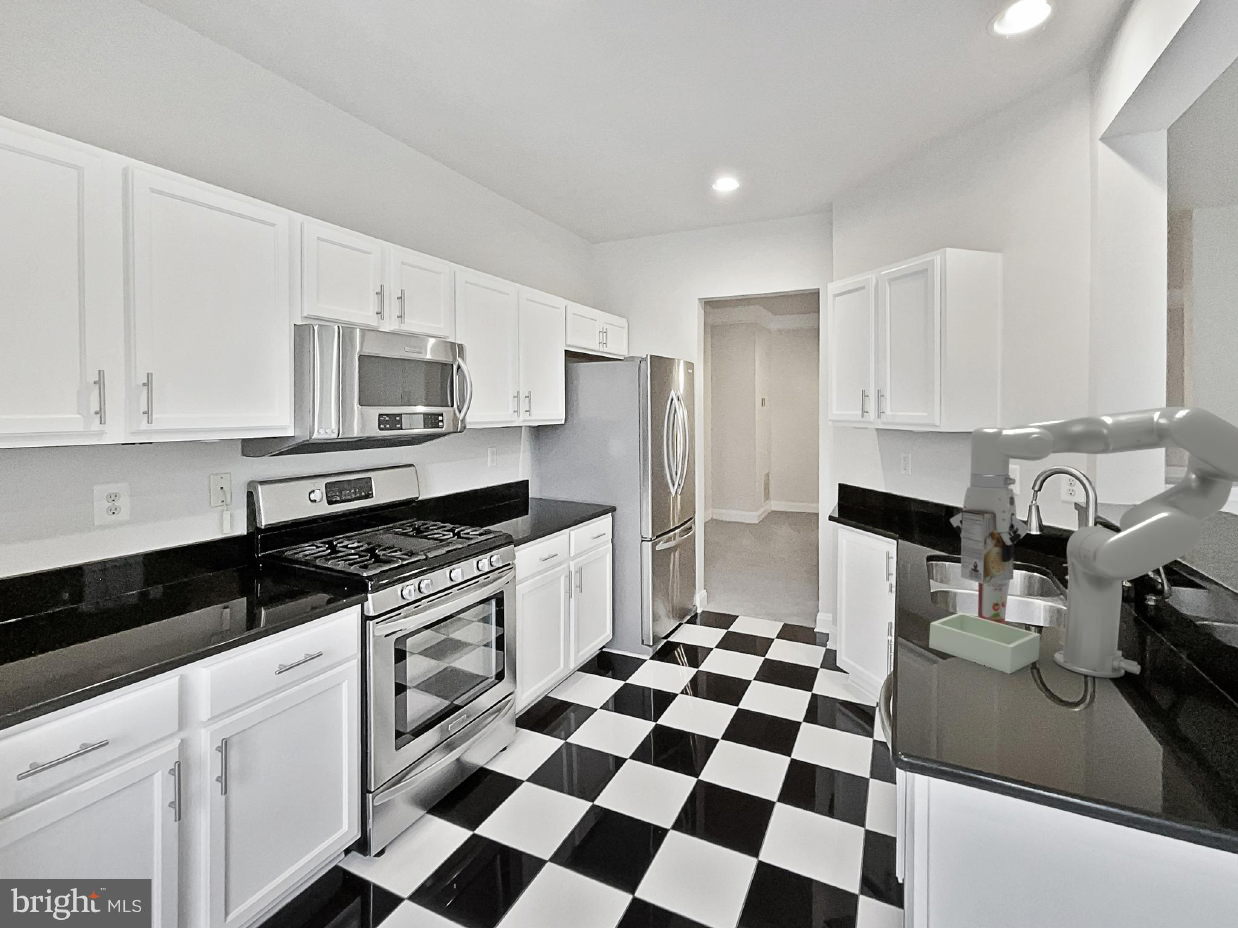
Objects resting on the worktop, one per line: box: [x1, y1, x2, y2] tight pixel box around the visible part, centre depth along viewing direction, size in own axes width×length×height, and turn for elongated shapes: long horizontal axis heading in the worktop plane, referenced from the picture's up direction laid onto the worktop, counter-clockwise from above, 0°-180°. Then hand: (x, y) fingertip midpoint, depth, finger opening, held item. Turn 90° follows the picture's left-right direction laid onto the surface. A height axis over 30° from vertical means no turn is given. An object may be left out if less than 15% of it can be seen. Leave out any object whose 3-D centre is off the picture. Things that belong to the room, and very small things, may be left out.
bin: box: [928, 612, 1041, 675], centre depth 146 cm, size 18×14×6 cm
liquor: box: [977, 580, 1010, 625], centre depth 159 cm, size 7×7×28 cm
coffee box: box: [960, 509, 1015, 584], centre depth 143 cm, size 9×6×16 cm
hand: (987, 557), depth 143 cm, fingers closed on coffee box, 7 cm apart
